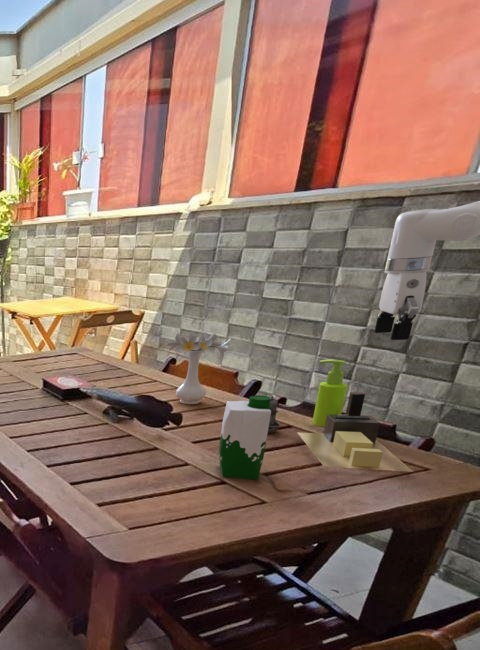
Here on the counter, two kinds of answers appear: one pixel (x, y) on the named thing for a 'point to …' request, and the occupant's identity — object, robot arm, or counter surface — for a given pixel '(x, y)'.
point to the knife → (354, 407)
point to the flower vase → (195, 363)
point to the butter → (350, 442)
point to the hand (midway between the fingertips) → (390, 335)
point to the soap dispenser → (330, 394)
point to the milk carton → (244, 437)
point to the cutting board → (334, 459)
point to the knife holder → (351, 427)
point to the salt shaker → (273, 416)
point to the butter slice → (365, 457)
